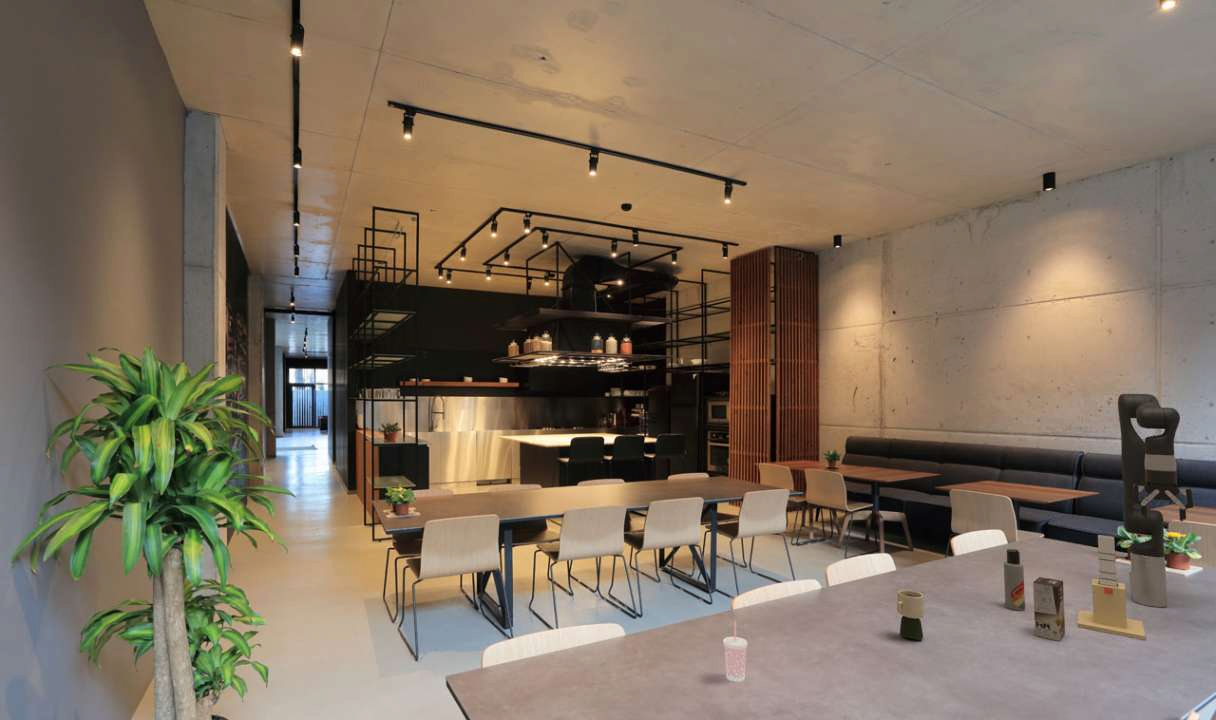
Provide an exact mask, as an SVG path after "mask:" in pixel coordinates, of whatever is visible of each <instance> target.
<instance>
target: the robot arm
mask: <svg viewBox="0 0 1216 720" xmlns="http://www.w3.org/2000/svg"><path fill="white" fill-rule="evenodd" d="M1117 409H1118V410H1117V411H1118V419H1119V428H1120V440H1121V442H1120V443H1121V445H1120V446H1121V453H1120V455H1121V471H1122V474H1121V475H1122V485H1123V506H1122V508H1123V510H1122V511H1123V512H1122V517H1123V518H1122V523H1123V528H1124V530H1125V532H1126V533H1128V534H1133V535H1144V536H1150V537H1151V538H1150V539H1148V540H1146V541H1145V540H1144V541H1140V542H1134V543H1131V544H1130V545H1129V552H1130V553H1129V556H1130V572H1129V586H1130V587H1129V588H1130V599H1132V601H1133V602H1135V603H1136V604H1141V605H1144V606H1149V607H1154V608H1155V607H1156V608H1166V607H1168V596H1167V595H1168V594H1167V593H1168V592H1167V577H1166V576H1167V574H1166V573H1167V572H1166V559H1165V546H1164V545H1165V544H1164V543H1165V542H1164V532H1165V531H1164V529H1165V528H1164V526H1165V525H1164V524H1165V522H1164V521H1165V520H1164V515H1163V513H1162V512H1161V511H1160V510H1158V509H1157V510H1156V509H1148V506H1147V504H1148V503H1149V502H1151V501H1152V500H1156V501H1162V500H1163V501H1165V502H1169V501H1173V502H1174V503H1175V505H1177V506H1178V507H1179V508H1178V511H1179V521H1180V522H1184V520H1186V519H1187V510H1188V509H1193V508H1194V501H1193V493H1192V489H1190V488H1189V487H1186V488H1179V487H1178V479H1177V477H1178V475H1177V468H1178V467H1177V461H1176V457H1175V448H1174V447H1175V437H1176V432H1177V430H1178V427H1179V425H1180V421H1181V415H1180V413H1179V411H1178V410H1177V409H1175V408H1174V407H1162V406H1161V405H1160V402H1159V400H1158V399H1157V397H1156V396H1155V395H1153V394H1149V393H1121V394H1119V396H1118V399H1117ZM1132 419H1136V423H1137V425H1138V426H1139V427H1140V428H1143V429H1148V430H1149V429H1150V430H1164V431H1163V433H1161V434H1157V435H1150V436H1147V437H1145V438H1144V439H1142V438H1141V437H1140V435H1139V434H1138V432H1137V430H1136V429H1135V428H1134V427H1135V426H1133V423H1132ZM1143 490H1144V491H1145V492H1146V493H1147V495H1146V496H1145V497H1144V498H1143V499H1142V500H1140V499H1139V495H1140V494H1141V493H1142V492H1143ZM1180 493H1181V494H1182V495H1183V496H1185V499H1186V503H1184V504H1183V503H1182V502H1181V501H1180V499H1178V497H1176V496H1177V495H1178V494H1180ZM1135 504H1137V505H1139V506H1140V508H1139V507H1135Z"/></svg>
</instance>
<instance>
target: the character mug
mask: <svg viewBox="0 0 1216 720" xmlns="http://www.w3.org/2000/svg"><path fill="white" fill-rule="evenodd" d="M924 597H925V596H924V594H923V593H921V592H918V591H914V590H908V589H901V590H897V597H896V598H897V599H896V600H897V601H896V611H897V613H899V615H900V616H901V619H900V628H899V635H900V636H901V637H905V638H907V639H911V640H923V639H924V633H923V626H922V621H921V619H922V618H924V616H925V600H924Z"/></svg>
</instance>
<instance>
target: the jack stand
mask: <svg viewBox="0 0 1216 720" xmlns="http://www.w3.org/2000/svg"><path fill="white" fill-rule="evenodd" d="M1116 583H1117V587H1113V586H1107V585H1100V579H1096V578H1092V582H1091V589H1092V590H1091V591H1092V606H1093V607H1092V608H1093V612H1091V611H1085V610H1081V609H1080V610H1078V614H1077V615H1078V617H1077V628H1080V629H1085V630H1091V631H1095V630H1096V632H1100V631H1101V632H1102V633H1105V632H1106V634H1110V633H1112V634H1111V635H1116V634H1118V635H1117V636H1121V635H1123V636H1122V637H1126V636H1127V638H1131V637H1133V638H1132V639H1136V638H1138V639H1137V640H1141V639H1143V640H1142V641H1146V634H1145V628H1144V623H1143V621H1141V620H1137V619H1136V620H1135V619H1129V618H1127V600H1126V586H1125V585H1126V584H1125V583H1122V582H1116ZM1101 632H1100V633H1101Z"/></svg>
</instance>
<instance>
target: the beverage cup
mask: <svg viewBox="0 0 1216 720" xmlns="http://www.w3.org/2000/svg"><path fill="white" fill-rule="evenodd" d="M733 624H734V627H733V631H734V632H733V634H734V636H728V637H725V638H723V640H722V642H723V643H722V644H723V646H724V660H725V677H726V679H728V680H729V681H731V682H737V683H738V682H743V681H744V680H745V676H746V663H747V662H746V660H747V658H746V657H747V648H748V641H747V640H746V639H745V638H742V637H738V636H737V620H734V623H733Z"/></svg>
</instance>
